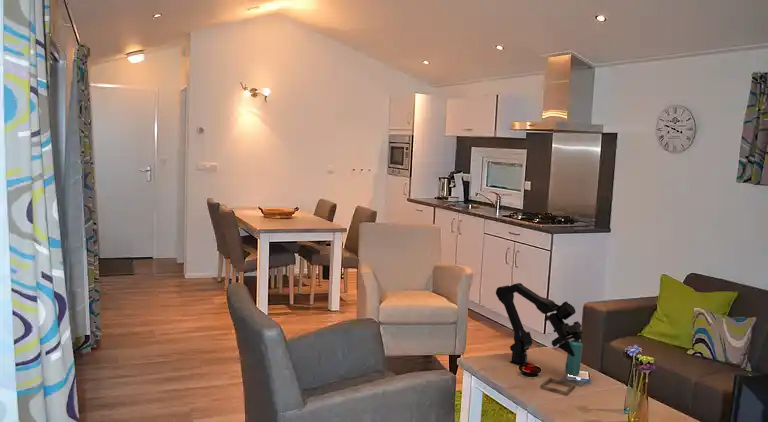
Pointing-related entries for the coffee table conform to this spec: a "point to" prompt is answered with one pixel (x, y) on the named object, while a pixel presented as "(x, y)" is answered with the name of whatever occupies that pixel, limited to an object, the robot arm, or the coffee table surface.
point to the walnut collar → (571, 385)
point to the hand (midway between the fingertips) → (577, 354)
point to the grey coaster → (573, 381)
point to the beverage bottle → (575, 361)
